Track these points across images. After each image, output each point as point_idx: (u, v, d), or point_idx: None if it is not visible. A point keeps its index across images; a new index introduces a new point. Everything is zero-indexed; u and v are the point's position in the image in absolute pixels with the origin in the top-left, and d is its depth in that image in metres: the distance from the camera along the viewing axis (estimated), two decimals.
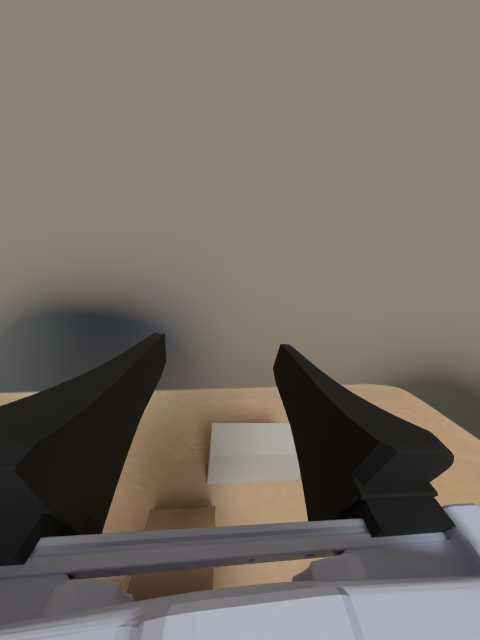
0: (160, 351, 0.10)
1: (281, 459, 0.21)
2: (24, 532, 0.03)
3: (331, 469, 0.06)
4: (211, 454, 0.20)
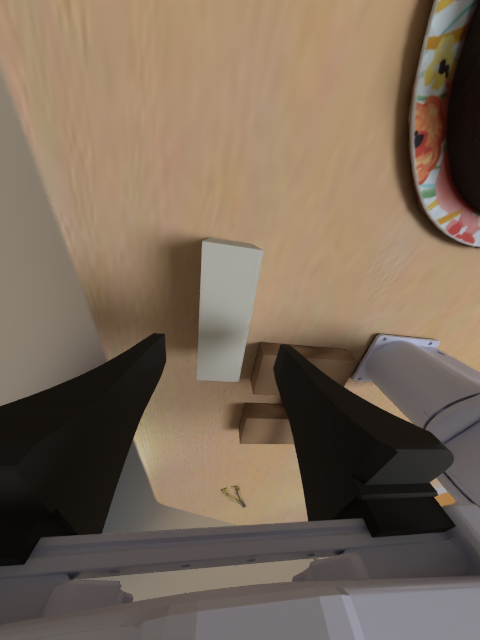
0: (160, 351, 0.10)
1: None
2: (23, 533, 0.03)
3: (331, 469, 0.06)
4: (237, 381, 0.17)
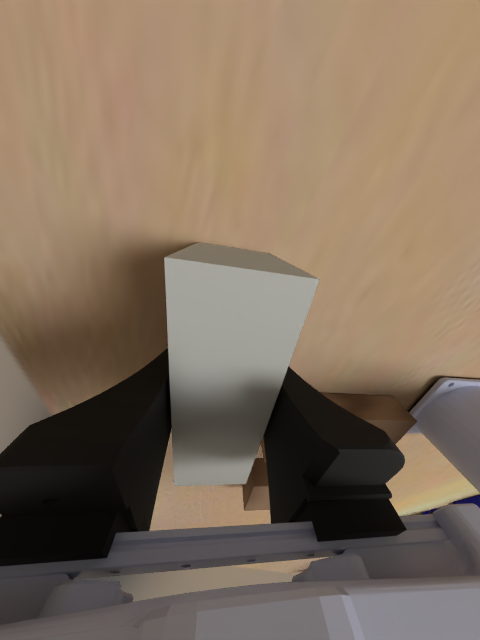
0: None
1: None
2: (105, 528, 0.04)
3: (288, 470, 0.06)
4: (243, 483, 0.10)
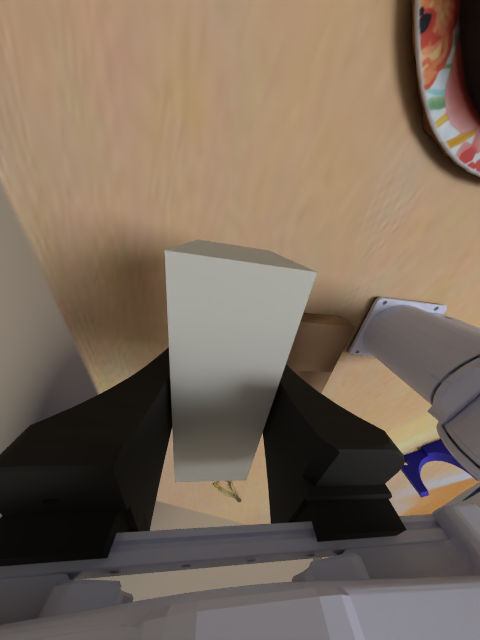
0: None
1: None
2: (106, 528, 0.04)
3: (288, 470, 0.06)
4: (244, 479, 0.10)
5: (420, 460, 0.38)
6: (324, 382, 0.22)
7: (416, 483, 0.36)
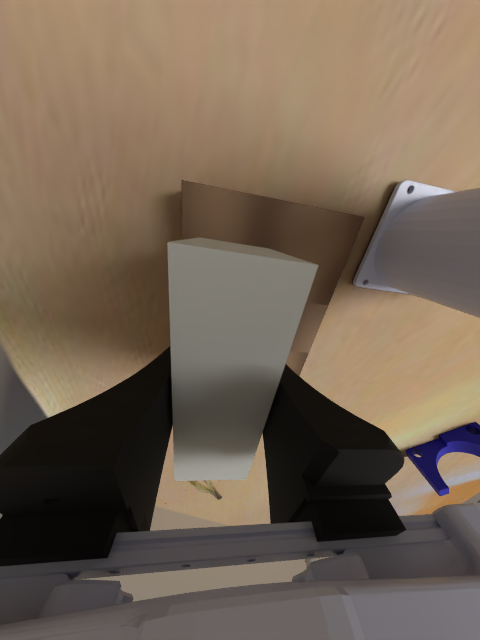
0: None
1: None
2: (106, 528, 0.04)
3: (288, 470, 0.06)
4: (244, 478, 0.10)
5: (437, 451, 0.31)
6: (317, 323, 0.15)
7: (433, 478, 0.29)
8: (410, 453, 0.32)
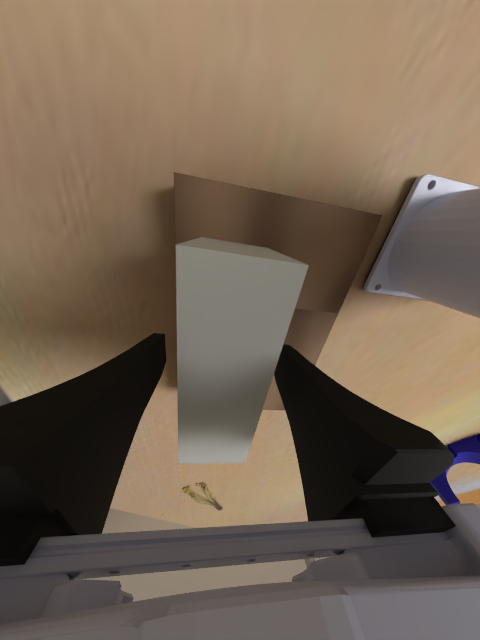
0: (160, 351, 0.10)
1: None
2: (24, 532, 0.03)
3: (331, 469, 0.06)
4: (243, 462, 0.11)
5: None
6: (326, 332, 0.14)
7: (443, 491, 0.28)
8: None
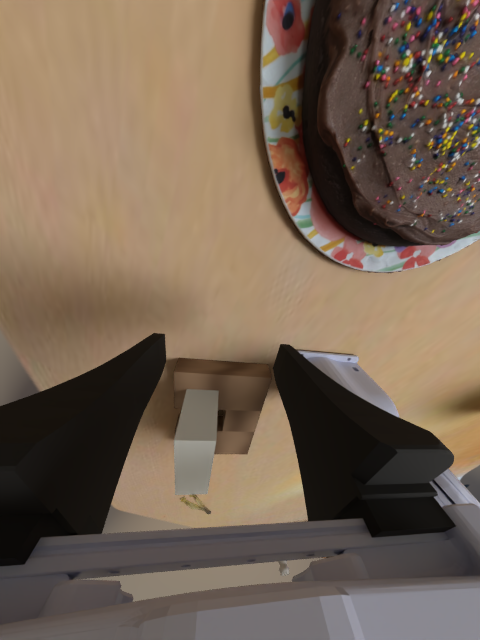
0: (160, 351, 0.10)
1: None
2: (23, 533, 0.03)
3: (331, 469, 0.06)
4: (206, 493, 0.22)
5: None
6: (256, 418, 0.26)
7: None
8: None
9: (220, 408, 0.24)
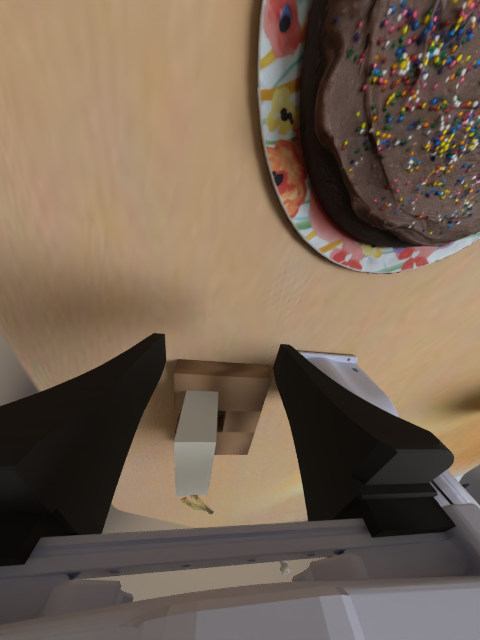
0: (160, 351, 0.10)
1: None
2: (23, 533, 0.03)
3: (331, 469, 0.06)
4: (206, 494, 0.22)
5: None
6: (256, 419, 0.26)
7: None
8: None
9: (220, 409, 0.24)
